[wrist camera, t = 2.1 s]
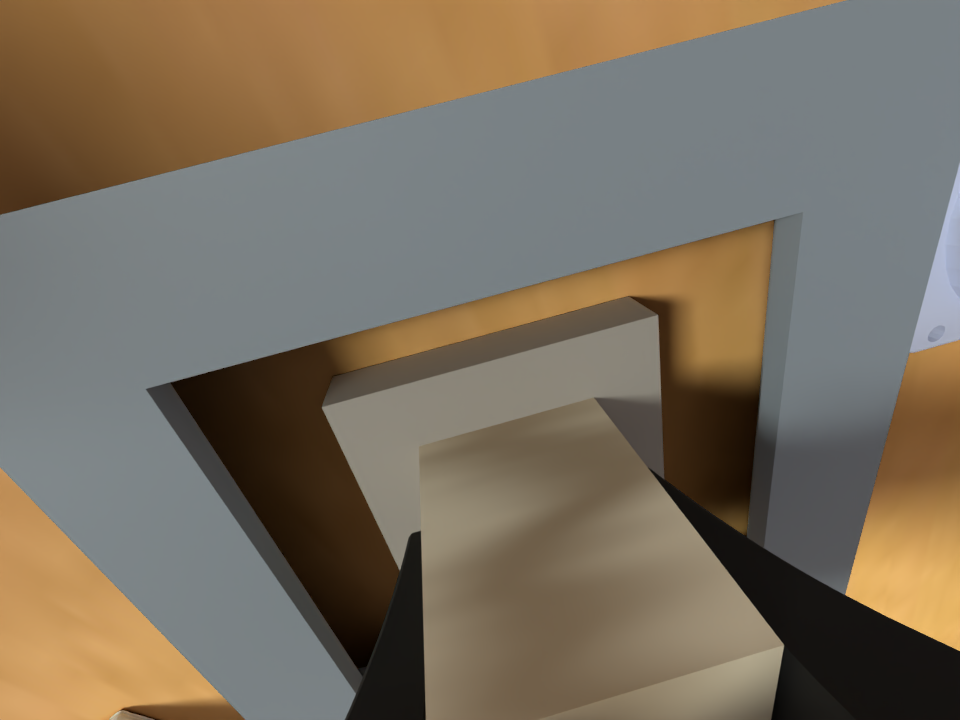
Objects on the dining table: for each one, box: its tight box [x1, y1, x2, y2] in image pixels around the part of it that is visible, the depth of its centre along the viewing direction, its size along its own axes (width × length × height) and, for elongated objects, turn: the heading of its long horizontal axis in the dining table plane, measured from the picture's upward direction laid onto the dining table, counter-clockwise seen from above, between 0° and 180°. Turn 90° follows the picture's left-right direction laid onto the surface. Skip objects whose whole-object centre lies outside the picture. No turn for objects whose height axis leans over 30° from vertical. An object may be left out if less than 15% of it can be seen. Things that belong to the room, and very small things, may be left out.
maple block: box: [419, 398, 784, 720], centre depth 9 cm, size 4×4×6 cm
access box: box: [0, 0, 960, 720], centre depth 11 cm, size 18×18×3 cm
